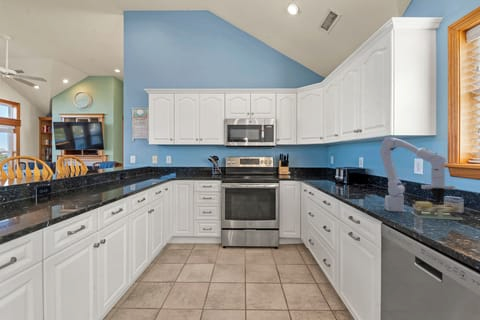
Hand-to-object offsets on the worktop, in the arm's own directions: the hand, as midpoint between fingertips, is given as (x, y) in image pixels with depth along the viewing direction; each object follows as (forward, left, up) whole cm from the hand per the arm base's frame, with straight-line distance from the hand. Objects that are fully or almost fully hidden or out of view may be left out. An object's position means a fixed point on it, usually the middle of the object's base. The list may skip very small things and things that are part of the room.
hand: (437, 202), depth 135 cm
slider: (-6, 0, -3) cm, 7 cm away
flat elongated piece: (-1, 0, -4) cm, 4 cm away
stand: (-1, 0, -8) cm, 8 cm away
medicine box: (+14, +14, -8) cm, 21 cm away
